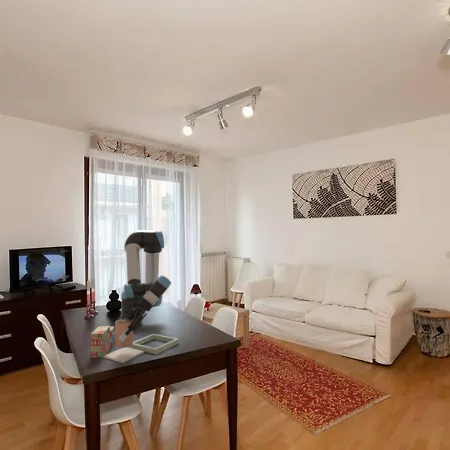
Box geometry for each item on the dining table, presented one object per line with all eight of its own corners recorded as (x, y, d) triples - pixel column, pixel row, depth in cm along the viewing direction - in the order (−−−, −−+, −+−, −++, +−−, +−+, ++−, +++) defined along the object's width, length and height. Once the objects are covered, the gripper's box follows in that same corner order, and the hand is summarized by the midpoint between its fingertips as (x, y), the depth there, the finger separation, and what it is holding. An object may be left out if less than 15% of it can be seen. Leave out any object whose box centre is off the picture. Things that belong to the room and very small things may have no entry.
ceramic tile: (104, 357, 162) (104, 355, 162) (125, 348, 175) (125, 346, 175) (122, 362, 156) (122, 360, 156) (143, 353, 168) (143, 351, 168)
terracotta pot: (113, 344, 166) (113, 320, 167) (129, 340, 171) (129, 317, 171) (118, 349, 159) (118, 324, 160) (135, 345, 164) (135, 321, 165)
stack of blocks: (103, 343, 184) (103, 321, 184) (115, 342, 184) (114, 320, 184) (90, 358, 162) (90, 333, 163) (103, 357, 163) (103, 332, 163)
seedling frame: (129, 348, 176) (129, 343, 176) (153, 338, 191) (153, 333, 192) (155, 354, 166) (155, 349, 166) (178, 343, 182) (178, 338, 182)
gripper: (135, 293, 180) (106, 328, 171) (151, 300, 163) (118, 339, 153) (145, 302, 183) (116, 336, 174) (161, 309, 166) (130, 348, 156)
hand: (117, 337), depth 164 cm, fingers closed on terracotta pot, 8 cm apart
